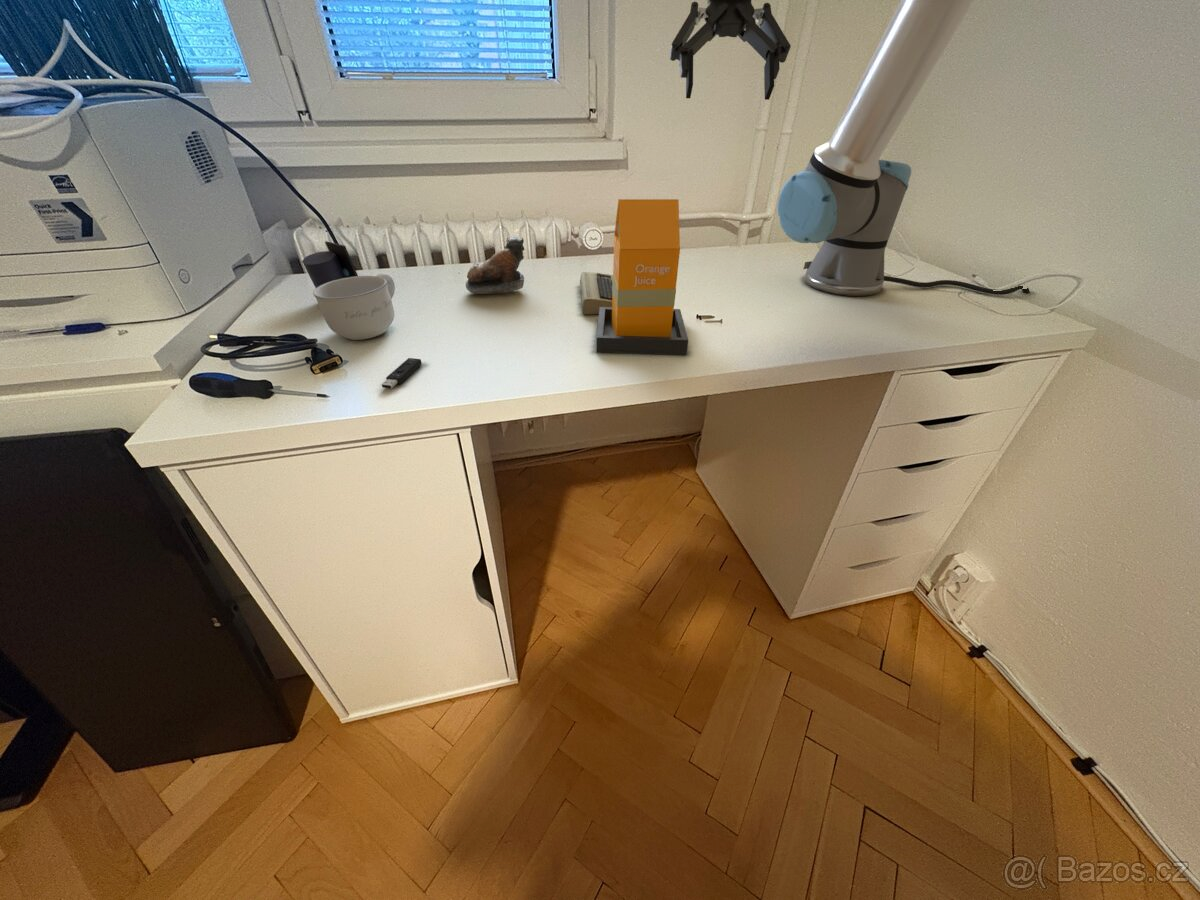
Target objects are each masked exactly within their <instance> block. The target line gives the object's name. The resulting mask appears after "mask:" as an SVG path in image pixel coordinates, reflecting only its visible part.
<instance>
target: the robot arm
mask: <svg viewBox="0 0 1200 900" xmlns="http://www.w3.org/2000/svg"><path fill="white" fill-rule="evenodd" d="M974 1H975V0H900V1H899V3H898V5H897V6H896V8H895V11H894V13H893V15H892V17H891V19H890V20H889V23H888V25H887V27H886V29H885V31H884V33H883V34H882V37H881V39H880V40H879V42H878V45H877V46H876V48H875V50H874V52H873V55H872V57H871V58H870V60H869V62H868V64H867V66H866V67H865V68H866V69H865V70H864V72H863V74H862V77H861V78H860V79H859V82H858V84H857V86H856V88H855V90H854V92H853V93H852V95H851V97H850V100H849V101H848V104H847V106H846V108H845V109H844V112H843V113H842V116H841V118H840V119H839V122H838V123H837V125H836V127H835V130H834V131H833V134H832V135H831V137H830V139H829V140H828V141H826V142H825V143H823V144H820V145H818V146H816V147H815V150H814V151H813V152H812V154H811V156H810V159H809V160H808V163H807V164H806V167H805V169H804V170H800V171H799V172H797V173H795V174H794V175H792V176H790V177H789V178H788V180H787V181H786V182H785V183H784V185H783V187H782V189H781V190H780V193H779V196H778V200H777V201H778V202H777V216H778V217H779V224H780V227H781V229H782V232H784V234H785V235H786V236H787V237H788V238H789V239H791V240H792V241H793V242H795V243H800V244H819V243H822V244H821V247H819V249H818V251H817V253H816V254H815V256H814V258H813V259H812V260H809V261H805V262H804V265H803V270H806V271H805V276H804V279H803V280H804V283H806V284H807V285H808V286H809V287H811V288H813V289H816V290H818V291H821V292H825V293H829V294H834V295H840V296H848V297H865V296H874V295H876V294H879V293H880V292H881V290H882V288H883V285H884V282H889V283H896V284H900V285H901V284H902V285H906V286H910V287H915V288H931V287H937V286H955V287H960V288H965V289H968V290H972V291H976V292H979V293H984V294H988V295H997V296H1004V295H1010V294H1012V293H1015V292H1017V291H1019V290H1021V291H1022V293H1024V294H1031V291H1030V288H1029V287H1028V288H1027V289H1022V288H1023V286H1018V287H1015V288H1012V287H1010V289H1009V288H1006V289H1001V290H1002V291H993V290H997V289H995V288H989V287H985V286H980V285H976V284H973V283H968V282H964V281H960V280H953V279H941V280H940V279H939V280H934V281H928V282H927V281H926V282H925V281H921V282H920V281H916V280H910V279H906V278H901V277H896V276H891V275H889V276H888V275H885V253H886V252H885V251H886V248H887V245H888V242H889V239H890V237H891V234H892V230H893V228H894V225H895V222H896V220H897V217H898V214H899V212H900V209H901V207H902V206H901V205H902V203H903V200H904V197H905V194H906V192H907V191H908V190H909V189H908V188H909V182H910V178H911V175H912V167H911V165H909V164H907V163H905V162H899V161H893V160H885V159H880V158H881V157H882V155H883V153H884V151H885V150H886V148H887V147H888V145H889V143H890V142H891V140H892V138H893V137H894V135H895V133H896V132H897V130H898V128H899V127H900V125H901V123H902V121H904V118H905V117H906V115H907V113H908V111H909V110H910V108H911V107H912V105H913V103H914V101H915V100H916V98H917V96H918V95H919V93H920V91H921V90H922V88H923V86H924V84H925V83H926V82H927V80H928V78H929V76H930V75H931V73H932V72H933V69H934V68H935V66H936V65H937V63H938V61H939V60H940V58H941V57H942V55H943V53H944V52H945V50H946V49H947V46H948V44H949V43H950V41H951V40H952V38H953V36H954V35H955V33H956V32H957V30H958V28H959V26H960V25H961V23H962V21H963V20H964V18H965V16H966V15H967V13H968V12H969V10H970V8H971V6H972V5H973V3H974ZM703 19H704V21H705V23H704V24H703V25H702V26H701V27H700V28H699V29H698V30H697V31H696V32H695V33H694V34H693V32H694V30H695V27H696V26H698V25H699V23H700V22H701V21H702V20H703ZM692 34H693V35H692ZM691 35H692V37H691ZM716 36H718V37H719V38H725V37H729V38H730V37H731V38H739V39H740V40H741V41H742V42H743V43H745V42H747V43H748V45H749V46H751V47H752V49H754V51H755V52H757V54H758V55H759V56H760V57H761V58H762V59H763V60H764V61H765V63H764V66H763V73H764V74H763V75H764V77H763V78H764V80H763V81H764V82H763V83H764V100H765V101H768V100H770V98H771V96H772V93H773V91H774V88H775V80H776V79H777V77H778V74H779V72H780V63H782V64H783V63H785V62H786V61H787V58H788V55H789V53H790V50H791V46H792V45H791V44H790V42H789V40H788V39H787V36H786V35H785V33H784V32H783V30H782V28H781V26H780V25H779V24H778V22H777V20H776V18H775V17H774V15H773V13H772V6H771V4H770V3H769V2H764V4H763V5H762V7H761V8H755V6H754V5H753V3H752V0H707V5H706V7H699V2H697V1H692V2H691V5H690V11H689V14H688V15H687V17H686V19H685V20H684V22H683V24H682V25H681V27H680V29H679V31H678V32H677V34H676V35H675V37H674V39H673V41H672V42H671V45H670V53H669V60H670V61H672V62H674V61H676V60H677V61H679V64H678V65H679V76H680V78H682V79H685V99H691V97H692V92H693V86H694V56H695V55H696V54H697V53H698V52H699V51H700V50H701V49H702V47H704V46H705V45H706V44H707V43H708V42H711V41H712V40H713V39H714V38H715V37H716Z"/></svg>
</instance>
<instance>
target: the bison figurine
mask: <svg viewBox="0 0 1200 900" xmlns="http://www.w3.org/2000/svg"><path fill="white" fill-rule="evenodd" d="M505 240H506V241H505V242H506V244H505V246H504V248H503V249H502V248H501V249H499V250H498V251H496V252H495V253H494V254H493V255H492V256H491V257H490V258H489V259H487V260H485V261H483V263H482V264H479V263H478V262H475V263H473V265H472V266H471V267H470V268H469V270H468V271H467V275H466V277H467V280H466V282H465V288H466V290H467V291H468V292H469V293H471V294H479V295H496V294H505V293H509V292H513V291H519V290H521V289H523V288H524V284H525V277H524V274H523V273H521V272H520V271H519V270H518V269H519V266H520V263H521V262H522V260H523V259H524V252H523V251H525V247H524V242H525V241H524V238H523V237H521V239H520V238H519V237H517V236H516V237H511V238H508V237H507V238H506V239H505Z"/></svg>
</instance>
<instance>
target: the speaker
mask: <svg viewBox="0 0 1200 900" xmlns="http://www.w3.org/2000/svg"><path fill="white" fill-rule="evenodd" d="M324 242H325V245H326V248H327V250H325V251H317V252H315V253H311V254H308V255H307V256H305V257H304V258H303V259H302V260H301V262H302V264H303V266H304V268H305V271H306V272H307V274H308V276H309V278H310V280H311V282H312V284H313V285H314V289H316V288H317V287H319V286H320V285H323V284H325V283H328V282H331V281H334V280H338V279H342V278H349V277H354V276H359V275H358V272H357V270H356V267H355V265H354V263H353V261H352V258H351V256H350V254H349V252H348V249H347V247H346V245H344V244H340V243H335V242H331V241H327V240H326V241H324Z"/></svg>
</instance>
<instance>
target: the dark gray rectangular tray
mask: <svg viewBox="0 0 1200 900" xmlns="http://www.w3.org/2000/svg"><path fill="white" fill-rule="evenodd" d="M595 338H596V344H595V345H596V350H595V351H596V353H597V354H631V355H632V354H633V355H635V354H636V355H663V356H665V355H667V356H687V354H688V347H689V346H688V345H689V338H688V334H687V330H686V326H685V323H684V319H683V315H682V311H681V309H680V308H674V310H673V319H672V328H671V337H646V336H614V333H613V329H612V307H600V309H599V314H598V318H597V330H596V337H595Z"/></svg>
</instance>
